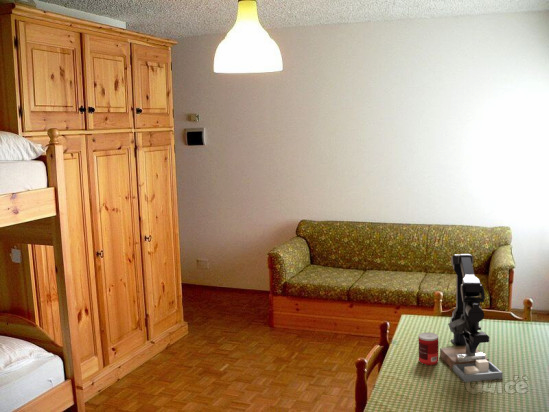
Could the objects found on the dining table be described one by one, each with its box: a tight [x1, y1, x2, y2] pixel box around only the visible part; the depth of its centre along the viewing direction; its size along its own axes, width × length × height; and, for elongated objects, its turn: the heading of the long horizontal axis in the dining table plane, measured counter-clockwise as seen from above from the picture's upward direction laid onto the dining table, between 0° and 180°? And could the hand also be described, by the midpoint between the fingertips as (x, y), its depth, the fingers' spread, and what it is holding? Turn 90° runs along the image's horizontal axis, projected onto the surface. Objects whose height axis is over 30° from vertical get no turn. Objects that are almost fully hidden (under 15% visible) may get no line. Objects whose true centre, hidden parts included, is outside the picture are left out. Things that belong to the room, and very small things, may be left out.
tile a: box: [464, 366, 479, 374], centre depth 221 cm, size 4×4×2 cm
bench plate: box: [439, 345, 490, 370], centre depth 234 cm, size 14×14×4 cm
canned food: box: [418, 331, 439, 366], centre depth 235 cm, size 8×8×11 cm
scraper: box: [456, 342, 486, 362], centre depth 227 cm, size 2×11×7 cm, turn 96°
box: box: [452, 361, 504, 383], centre depth 223 cm, size 10×15×2 cm, turn 96°
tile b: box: [476, 359, 490, 373], centre depth 224 cm, size 4×4×2 cm
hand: (470, 351), depth 227 cm, fingers closed on scraper, 2 cm apart
